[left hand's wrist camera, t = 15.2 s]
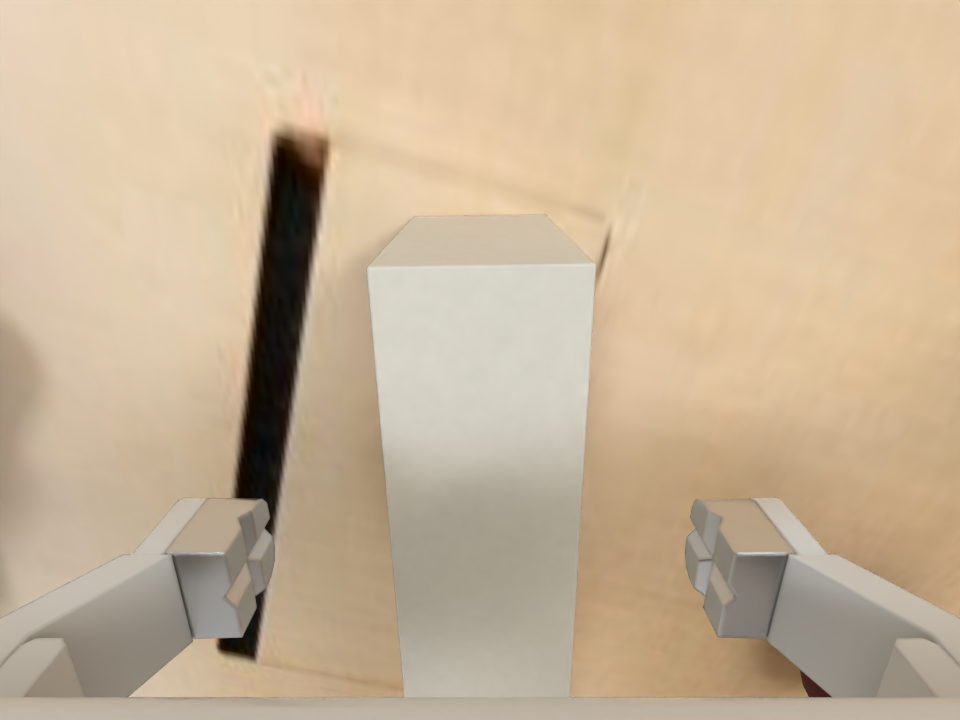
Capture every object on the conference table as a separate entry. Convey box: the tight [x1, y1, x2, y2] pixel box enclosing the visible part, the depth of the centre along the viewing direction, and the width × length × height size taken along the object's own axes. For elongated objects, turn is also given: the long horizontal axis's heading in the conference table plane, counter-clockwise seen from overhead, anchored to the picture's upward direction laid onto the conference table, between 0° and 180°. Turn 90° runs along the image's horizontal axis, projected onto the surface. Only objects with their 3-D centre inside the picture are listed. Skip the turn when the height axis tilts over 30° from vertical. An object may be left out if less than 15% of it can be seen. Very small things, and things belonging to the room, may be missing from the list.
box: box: [366, 214, 596, 697], centre depth 25 cm, size 27×6×12 cm, turn 1°
